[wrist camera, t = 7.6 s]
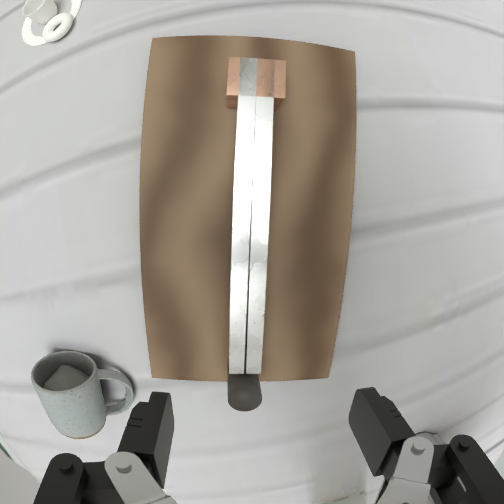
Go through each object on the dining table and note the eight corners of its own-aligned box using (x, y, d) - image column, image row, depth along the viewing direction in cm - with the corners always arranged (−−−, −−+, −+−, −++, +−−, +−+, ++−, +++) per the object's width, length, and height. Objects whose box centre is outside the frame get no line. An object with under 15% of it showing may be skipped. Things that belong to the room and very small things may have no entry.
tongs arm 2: (241, 349, 28) (243, 373, 24) (219, 348, 28) (219, 373, 24) (253, 75, 22) (257, 58, 18) (228, 74, 22) (229, 56, 18)
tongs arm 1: (265, 349, 28) (270, 373, 24) (243, 349, 28) (246, 373, 24) (277, 77, 22) (285, 60, 19) (253, 75, 22) (257, 58, 18)
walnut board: (351, 55, 23) (379, 30, 17) (325, 372, 31) (343, 409, 25) (154, 42, 22) (137, 11, 16) (154, 372, 29) (141, 410, 23)
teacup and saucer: (80, 36, 21) (63, 20, 17) (20, 64, 21) (0, 54, 17) (85, -21, 19) (72, -38, 15) (28, 6, 19) (11, -6, 15)
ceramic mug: (66, 399, 29) (44, 438, 22) (49, 346, 28) (18, 381, 21) (141, 410, 30) (128, 456, 23) (130, 355, 29) (110, 400, 22)
